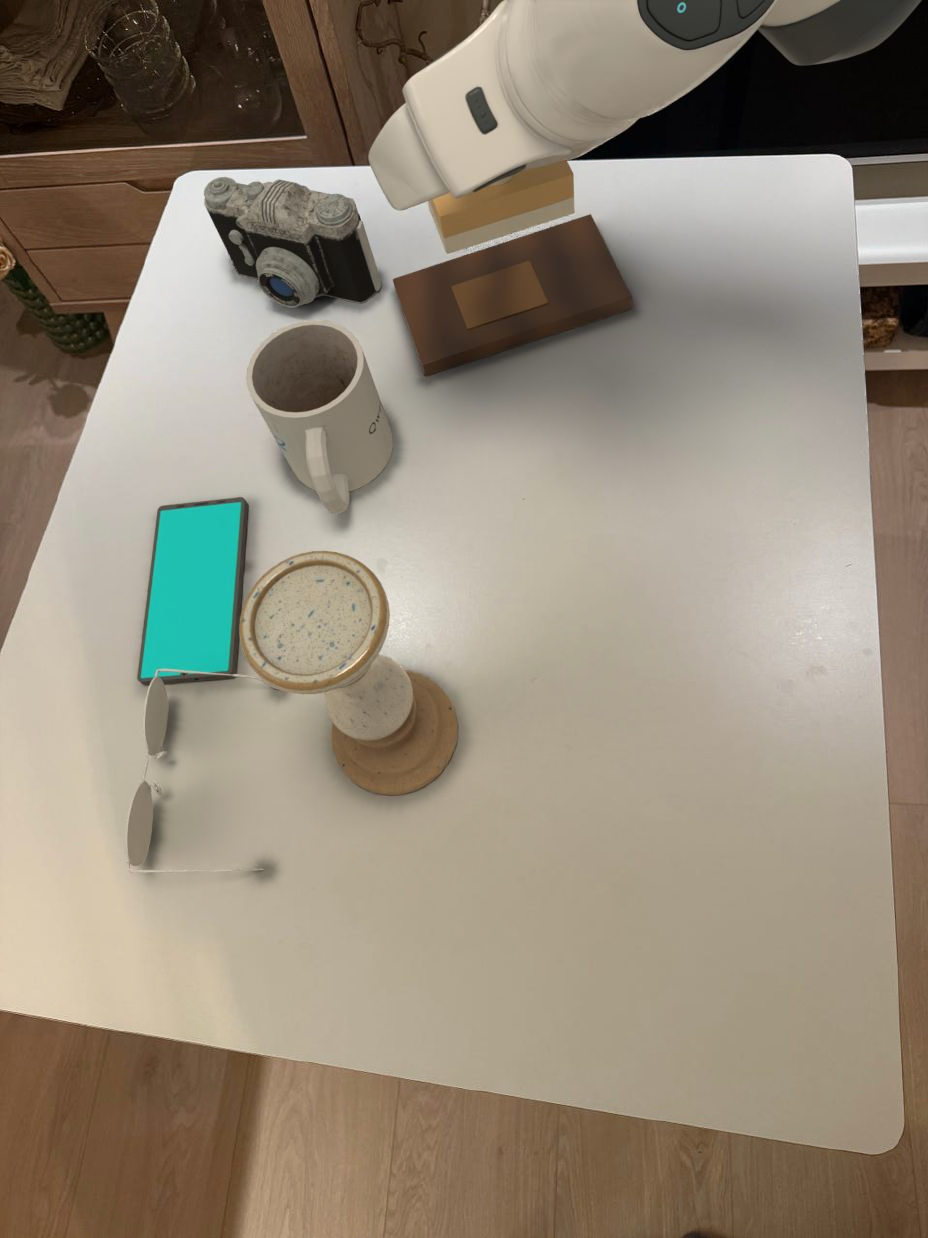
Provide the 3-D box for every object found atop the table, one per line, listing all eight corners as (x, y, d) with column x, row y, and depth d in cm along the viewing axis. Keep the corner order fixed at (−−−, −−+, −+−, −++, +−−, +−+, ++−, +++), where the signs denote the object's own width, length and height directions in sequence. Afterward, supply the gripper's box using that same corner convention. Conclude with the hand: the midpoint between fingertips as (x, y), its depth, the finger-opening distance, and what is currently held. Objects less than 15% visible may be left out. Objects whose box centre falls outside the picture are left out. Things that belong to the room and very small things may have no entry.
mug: (298, 404, 75) (257, 321, 66) (398, 403, 74) (370, 318, 65) (274, 534, 70) (226, 463, 61) (380, 534, 69) (348, 462, 60)
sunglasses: (170, 686, 66) (150, 662, 62) (284, 687, 67) (273, 663, 62) (143, 880, 61) (119, 869, 56) (267, 881, 61) (253, 870, 56)
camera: (213, 298, 82) (164, 209, 72) (247, 244, 84) (204, 150, 75) (356, 334, 78) (324, 243, 68) (388, 275, 80) (361, 180, 71)
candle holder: (473, 689, 63) (421, 555, 45) (437, 811, 60) (364, 720, 42) (358, 662, 65) (262, 523, 47) (317, 778, 62) (197, 677, 44)
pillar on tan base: (553, 169, 69) (546, 18, 58) (574, 213, 67) (571, 64, 56) (429, 209, 69) (399, 65, 59) (446, 254, 67) (419, 113, 56)
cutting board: (590, 227, 79) (590, 212, 77) (631, 309, 75) (632, 295, 73) (395, 291, 79) (391, 277, 77) (425, 376, 75) (421, 363, 73)
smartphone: (244, 496, 71) (231, 674, 65) (248, 501, 72) (235, 678, 66) (156, 506, 72) (135, 682, 66) (161, 511, 73) (140, 686, 67)
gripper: (695, -79, 50) (591, 16, 62) (380, 93, 47) (339, 155, 60) (736, 40, 52) (628, 108, 65) (437, 210, 49) (386, 245, 62)
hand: (487, 132), depth 62 cm, fingers closed on pillar on tan base, 3 cm apart
